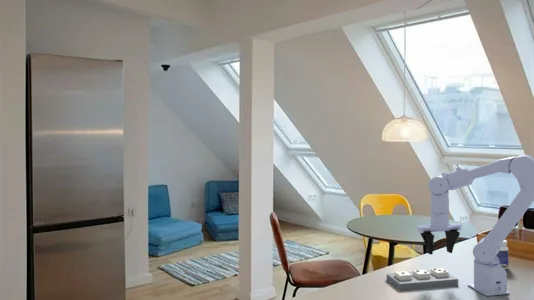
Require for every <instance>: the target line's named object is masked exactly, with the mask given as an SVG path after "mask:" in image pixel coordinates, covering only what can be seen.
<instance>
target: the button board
mask: <svg viewBox="0 0 534 300" xmlns="http://www.w3.org/2000/svg"><path fill="white" fill-rule="evenodd" d="M426 271H427V272H429V273H430V278H428V279H417V278H416V277H414V276H413V271H407V272H408V273H410V274H411V275H412V280H404V281H399V280H398V279H397V278H395V272H393V273H386V280H387V281H388V282H389V283H391V284H392V285H393V286H394V287H395V286H396V287H395V288H396V289H398V290H400V291H405V290H418V289H430V288H441V287H452V286H453V287H454V286H459V279H458V278H457V277H455V276H453V275H452V274H450V273H449V277H440V278H437V277H435V276H433V275H432V274H431V269H430V270H429V269H428V270H426Z"/></svg>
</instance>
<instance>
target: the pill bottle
mask: <svg viewBox="0 0 534 300" xmlns="http://www.w3.org/2000/svg"><path fill="white" fill-rule="evenodd" d="M507 245H508V240H506V239H504V241H503V242H502V243H501V245H500V251H499V253H498V254H497V255H496V256H497V257H498V259H499V260H500V262H499V263H500V265H501V267H502V268H504V269H505V270H507V269H509V256H510V255H509V254H510V252H509V247H508V246H507Z"/></svg>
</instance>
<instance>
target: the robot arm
mask: <svg viewBox="0 0 534 300" xmlns="http://www.w3.org/2000/svg"><path fill="white" fill-rule="evenodd" d="M496 173H503V174H507V175H509V174H511V173H512V175H513V176H514V177H515V178H516V180H517V182H518V185H519V188H520V191H519V192H518V193H517V194H516V196H515V197H514V199H513V200H512V201H511V202H510V204H509V205H508V207H507V208H506V210H505V211H504V212H503V213H502V215H501V216H500V218H499V219H498V220H497V222H496V223H495V224H494V226H493V227H492V229H491V230H490V231H489V232H488V234H487V235H486V236H485V237H481V238H480V240H479V241H478V242H477V244H475V245H474V247H473V249H472V256H473V283H472V282H471V283H467V286H468V287H470V288H472V289H474V290H475V291H477V292H479V293H480V294H483V295H484V296H487V297H488V296H498V295H499V296H500V295H509V294H510V291H508V274H507V271H506V269H504V268H502V267H501V265H500V263H499V262H500V260H499V259H498V257H497V256H496V255H497V254H498V253H499V251H500V245H501V243H502V242H503V241H504V240H506V238H507V237H508V235H510V233H511V232H512V230H513V229H514V227H516V226H517V223H518V222H519V221H520V220H521V218H522V217H523V216H524V215H525V213H526V212H527V210H528V209H529V208H530V206H532V204H533V203H534V156H532V155H530V154H524V153H523V154H521V155H518V156H515V155H514V156H510V157H505V158H500V159H498V160H494V161H493V162H490V163H487V164H484V165H480V166H478V167H475V168H472V169H470V168H467V167H461V166H458V167H455V170H453V171H450V172H449V171H448V172H443V173H441V175H437V176H434V177H432V178H431V179H430V180H429V181H428V184H427V185H428V189H429V191H430V200H429V201H430V203H429V204H430V206H429V207H430V209H429V210H430V223H429V224H424V225H418V226H417V232H418V233H420V236H421V238H422V239H423V242H424V245H425V247H426V251H427V254H428V255H433V253H434V246H433V245H434V240H435V235H434V234H433V233H434V232H435V233H437V232H444V234H445V239H446V240H445V241H446V242H445V243H446V247H445V249H446V252H447V253H449V254H453V251H454V247H455V244H456V242H457V240H458V238H459V236H460V235H461V234H460V233H461V231H462V224H461V223H450V199H449V197H450V196H449V191H454V190H455V191H456V190H458V189H461V188H463V187H467V186H470V185H471V186H472V184H473V182H474V180H475V179H479V178H483V177H486V176H489V175H493V174H496Z"/></svg>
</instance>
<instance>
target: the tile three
mask: <svg viewBox="0 0 534 300" xmlns="http://www.w3.org/2000/svg"><path fill="white" fill-rule="evenodd" d="M430 270H431V274H432V275H433V276H435V277H437V278H440V277H449V274H450V273H449V271H448V270H446V269H445V268H442V267H441V268H431V269H430Z"/></svg>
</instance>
